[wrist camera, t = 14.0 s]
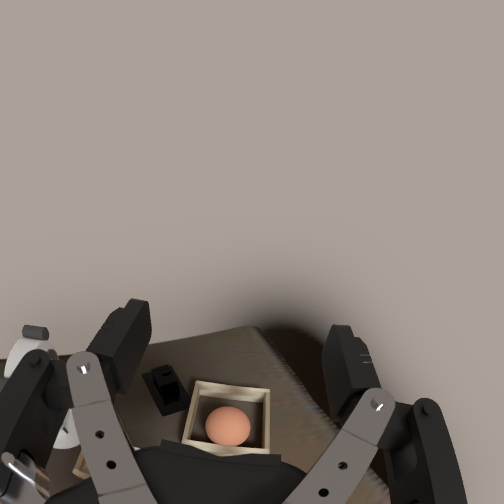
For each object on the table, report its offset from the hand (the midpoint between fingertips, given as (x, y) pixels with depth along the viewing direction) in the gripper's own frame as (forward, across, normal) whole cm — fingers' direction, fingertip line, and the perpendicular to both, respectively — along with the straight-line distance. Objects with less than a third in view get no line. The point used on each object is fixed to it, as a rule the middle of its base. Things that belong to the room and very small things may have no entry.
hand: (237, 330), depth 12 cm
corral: (+12, 0, +30) cm, 32 cm away
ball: (+10, 0, +27) cm, 29 cm away
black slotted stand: (+17, +10, +31) cm, 37 cm away
